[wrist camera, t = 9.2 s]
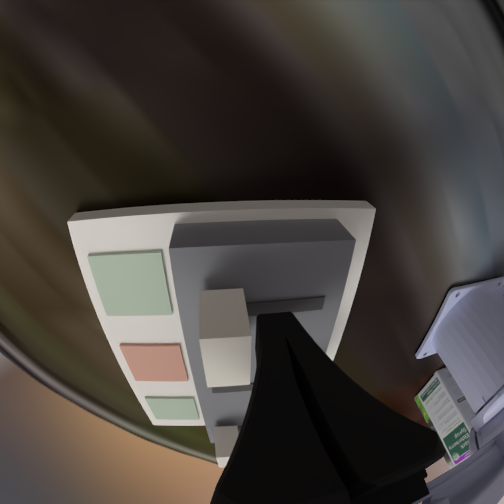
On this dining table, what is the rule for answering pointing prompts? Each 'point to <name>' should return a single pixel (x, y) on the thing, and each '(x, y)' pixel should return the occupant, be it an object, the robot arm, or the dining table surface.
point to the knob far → (224, 443)
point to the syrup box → (447, 415)
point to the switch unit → (214, 287)
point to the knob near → (225, 337)
